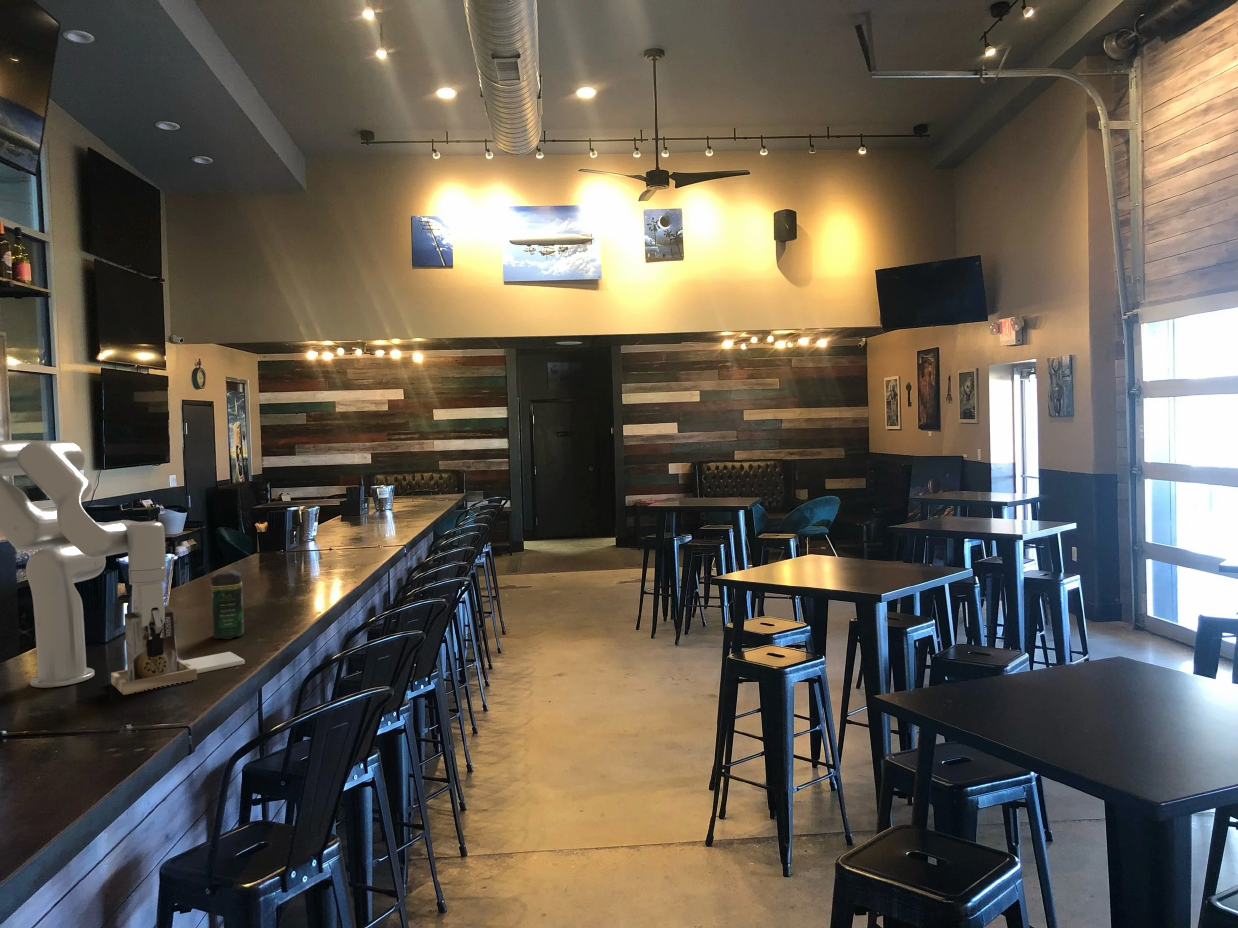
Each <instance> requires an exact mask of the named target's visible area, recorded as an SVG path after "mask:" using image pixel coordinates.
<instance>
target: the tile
mask: <svg viewBox="0 0 1238 928" xmlns="http://www.w3.org/2000/svg"><path fill="white" fill-rule="evenodd" d="M183 661H185V662H186V663H188V664H190V665H191V666H193V667H194V668H196V669H197V674H201V673H207V672H211V671H217V670H221V669H224V668H230V667H235V666H240V665H245V664H246V661H245V659H244V658H242V657H241V656H238V655H237V654H235V653H233V652H231V651H226V652H225V651H224V652H222V653H221V652H220V653H215V654H210V655H205V656H199V657H194V658H190V659H185V660H183Z"/></svg>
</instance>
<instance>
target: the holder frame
mask: <svg viewBox="0 0 1238 928" xmlns="http://www.w3.org/2000/svg"><path fill="white" fill-rule="evenodd" d="M176 663H177V672H174V673H169V674H164V675H159V676H154V677H149V678H144V679H139V680H134V681H129V682H128V672H127V669H123V670H118V671H114V672H113V671H112V672H111V673H110V681H111V685H112V686H113V687H115V688H116V689H117V690H118V692H120V693H121V694H122V695H123V696H125V695H129V694H135V692H136V693H140V692H145V691H149V690H148V689H150V690H154V689H153V688H155V689H157V687H160V688H162V687H161V686H164V687H167V686H166V685H169V686H172V685H171V684H174V685H177V684H176V683H179V684H182V683H181V682H184V683H187V681H188V682H192V680H193V681H196V680H198V673H197V669H196V668H194V667H193V666H191V665H190V664H188V663H186V662H185V661H184V660H183V659H182V658H181V659H176ZM144 690H145V691H144Z"/></svg>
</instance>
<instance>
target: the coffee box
mask: <svg viewBox="0 0 1238 928" xmlns="http://www.w3.org/2000/svg"><path fill="white" fill-rule="evenodd" d="M164 608H165V622H164V624H163V625H162V634H163V655H160V656H154V657H148V656H147V640H148V634H147V626H145V628H141V627H140V617H139V616H137V615H136V614H135V613H133V612H132V611H131V612H128V613H127V612H126V613H124V614H123V615H124V617H123V618H124V630H125V631H124V633H125V647H126V649H125V650H126V670H127V672H128V681H127V682H129V681H134V680H139V679H144V678H149V677H154V676H159V675H164V674H169V673H174V672H178V671H177V663H176V660H177V654H176V653H177V652H176V650H177V649H176V632H175V630H176V629H175V617H174V616H175V612H174V611H173V610H171V608H168V607H166V606H164ZM160 619H161V618H160ZM161 622H162V619H161ZM150 625H154V622H149V626H150ZM152 629H154V628H152ZM152 629H151V633H152Z"/></svg>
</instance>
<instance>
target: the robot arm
mask: <svg viewBox="0 0 1238 928" xmlns="http://www.w3.org/2000/svg"><path fill="white" fill-rule="evenodd" d="M85 463H86V457H85V454H84V451H83V450H82V449H81V448H80V446H78V445H77V444H76V443H75V442H72V441H69V440H36V439H34V440H33V439H31V440H30V439H20V440H19V439H13V440H10V439H8V440H0V532H1V533H2V535H3V536H4V537H5V539H6V540H7V541H8V542H9V543H10V544H11V546H12V547H13V548H15V549H16V550H18V551H22V552H27V551H28V552H29V551H35V550H37V551H35V552H34V553H33V554H32V555H31V556H30V557H29V558H28V560H27V563H26V566H25V573H26V578H27V581H28V584H29V587H30V591H31V596H32V604H33V616H34V628H35V643H36V644H35V645H36V646H35V647H36V660H37V675H34V677H32V678H31V679H30V682H29V683H30V686H32V687H33V688H45V689H46V688H47V689H48V688H56V687H58V688H59V687H64V686H69V685H74V684H78V683H82V682H84V681H87V680H89V679H91V678H93V677H94V676H95V670H94V669H93V668H91V667H87V653H86V640H85V639H86V638H85V636H86V635H85V621H84V618H85V617H84V608H83V607H84V605H83V600H82V597H81V595H80V593H79V591H78V590H77V588H76V586H75V583H79V582H85V581H87V580H91V579H94V578H96V577H98V576H99V575H100V574H102V572H103V571H104V570H105V568H106V563H107V560H106V557H109V556H114V555H118V554H119V555H120V554H123V553H127V559H128V560H127V561H128V581H129V583H128V584H129V585H131V586H132V588H131V613H132V612H133V613H135V614H136V615H137V616H139V617H140V627H141V628H145V626H147V634H148V640H147V656H148V657H154V656H160V655H163V634H162V625H163V624H164V622H165V608H164V607H165V597H164V587H163V583H165V582H167V560H166V559H167V556H166V554H167V553H166V536H165V534H166V533H165V526H164V524H163V523H162V522H159V521H153V520H152V521H135V520H129V519H121V520H114V521H109V522H100V523H97V522H96V521H95V520H94V519H93V518H92V517H91V516H90V515H89V514H88V513H87V512H86V511H85V509H84V507H83V506H82V503H83V502H84V501H85V500H86V499H87V498H88V497H89V495H90V494H91V492H92V490H93V484H92V483H91V481H90V480H89V479H88V478H87V477H86V476H85V475H84V474H83V473H82V472H81V470H82V469H83V468H84V466H85ZM13 476H15V477H17V476H27V477H28V478H29V479H30V480H31V481H32V482H33V483H34V484H35V485H36V487H38V488H39V489H40V491H42V492H43V493H44V494H45V496H46V497H47V498H49V499H50V501H51V502H52V503H53V504H54V506H55V507H54V506H52V507H51V506H50V507H43V508H41V507H38V506H36V505H35V504H34V503H33V502H32V501H31V500H30V499H29V497H28V496H27V494H26V493H25V492H24V491H23V490H22V489H20V488H19V487H18V486H16V485H15V484H13V483H11V482H10V481H8V480H7V479H6V478H4V477H13ZM160 618H161V619H162V622H161V619H160ZM149 622H154V625H150V626H149ZM152 628H154V629H152ZM151 629H152V633H151Z"/></svg>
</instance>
